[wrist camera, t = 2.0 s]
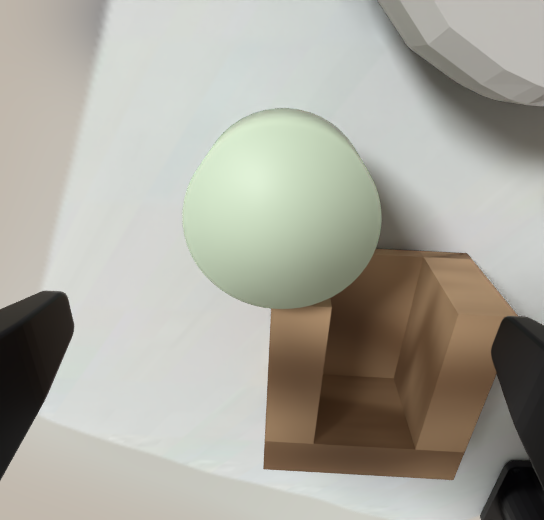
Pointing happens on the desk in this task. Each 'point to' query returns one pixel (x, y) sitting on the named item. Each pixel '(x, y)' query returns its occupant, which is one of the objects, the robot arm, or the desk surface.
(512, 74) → the robot toy
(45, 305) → the robot arm
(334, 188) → the peg
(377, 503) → the desk surface
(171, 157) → the desk surface
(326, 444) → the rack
